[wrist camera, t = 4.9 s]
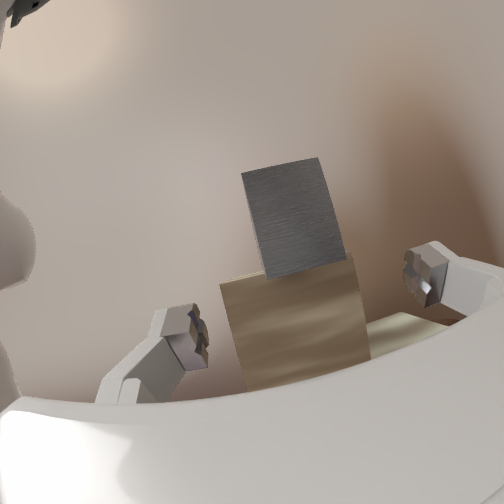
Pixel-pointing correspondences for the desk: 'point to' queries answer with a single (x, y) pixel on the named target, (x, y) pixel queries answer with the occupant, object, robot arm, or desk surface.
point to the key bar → (292, 218)
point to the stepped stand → (309, 325)
